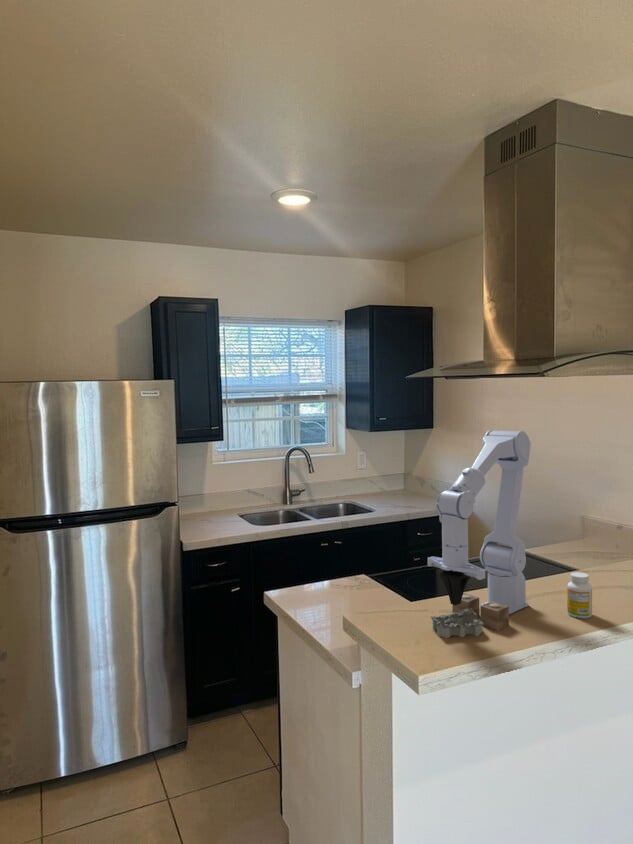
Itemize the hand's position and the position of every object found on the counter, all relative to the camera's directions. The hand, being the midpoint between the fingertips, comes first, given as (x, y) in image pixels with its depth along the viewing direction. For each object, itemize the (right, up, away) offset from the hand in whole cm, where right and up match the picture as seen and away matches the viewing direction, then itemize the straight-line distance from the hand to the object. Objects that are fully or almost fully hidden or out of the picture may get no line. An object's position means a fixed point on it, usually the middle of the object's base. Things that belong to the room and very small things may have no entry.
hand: (455, 603), depth 133 cm
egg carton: (0, -7, 0) cm, 7 cm away
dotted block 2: (+10, -6, +3) cm, 12 cm away
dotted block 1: (+5, -6, +9) cm, 12 cm away
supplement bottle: (+31, -5, +8) cm, 33 cm away
